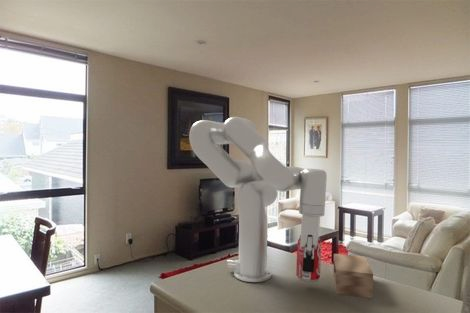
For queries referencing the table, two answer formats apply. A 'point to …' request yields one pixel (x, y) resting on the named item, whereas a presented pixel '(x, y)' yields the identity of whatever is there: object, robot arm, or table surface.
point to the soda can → (315, 275)
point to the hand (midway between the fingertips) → (308, 266)
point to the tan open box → (353, 276)
